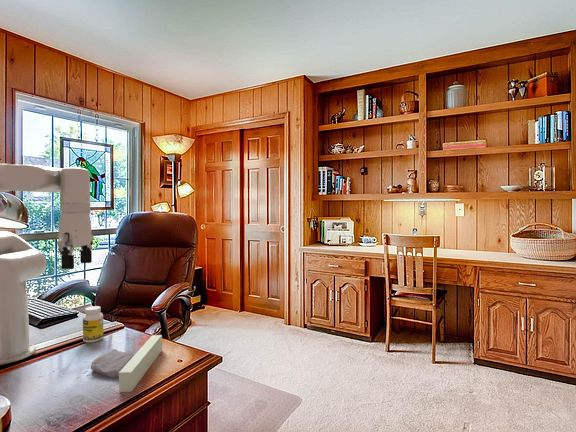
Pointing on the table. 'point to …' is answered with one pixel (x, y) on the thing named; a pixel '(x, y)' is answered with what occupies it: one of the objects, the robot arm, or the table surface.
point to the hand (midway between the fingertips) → (77, 265)
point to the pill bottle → (93, 324)
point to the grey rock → (112, 362)
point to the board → (139, 364)
